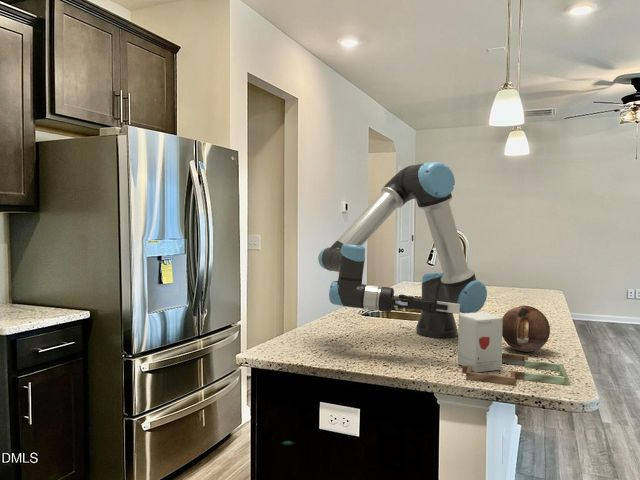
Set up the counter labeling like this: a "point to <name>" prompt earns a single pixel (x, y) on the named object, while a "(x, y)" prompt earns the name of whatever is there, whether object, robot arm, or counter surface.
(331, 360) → the counter surface
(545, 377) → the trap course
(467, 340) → the supplement box
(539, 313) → the wooden sphere
